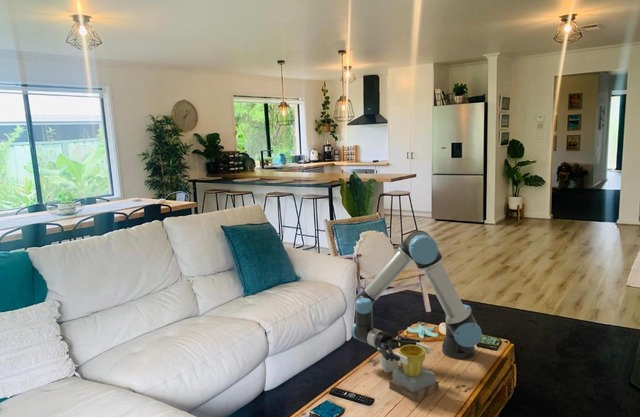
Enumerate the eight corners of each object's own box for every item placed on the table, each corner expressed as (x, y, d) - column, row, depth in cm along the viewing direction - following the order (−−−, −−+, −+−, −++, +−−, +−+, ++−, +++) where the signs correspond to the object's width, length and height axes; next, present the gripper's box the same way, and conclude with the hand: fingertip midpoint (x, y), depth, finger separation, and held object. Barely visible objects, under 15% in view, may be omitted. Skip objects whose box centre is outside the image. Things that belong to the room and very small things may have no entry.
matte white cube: (380, 366, 208) (380, 354, 208) (393, 364, 210) (392, 352, 209) (385, 372, 202) (385, 359, 202) (398, 370, 204) (398, 357, 203)
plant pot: (425, 379, 181) (425, 356, 179) (399, 378, 183) (398, 355, 182) (425, 367, 191) (425, 345, 189) (400, 365, 193) (399, 343, 192)
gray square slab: (414, 371, 196) (414, 362, 195) (435, 383, 185) (435, 373, 185) (392, 380, 189) (392, 370, 189) (413, 392, 179) (412, 382, 179)
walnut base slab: (412, 378, 198) (411, 370, 197) (438, 391, 187) (438, 382, 186) (389, 390, 189) (389, 381, 189) (415, 404, 178) (415, 394, 178)
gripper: (399, 339, 208) (437, 355, 191) (359, 356, 193) (397, 375, 176) (399, 323, 207) (437, 337, 190) (358, 339, 192) (396, 356, 175)
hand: (418, 355), depth 183 cm, fingers open, 13 cm apart
